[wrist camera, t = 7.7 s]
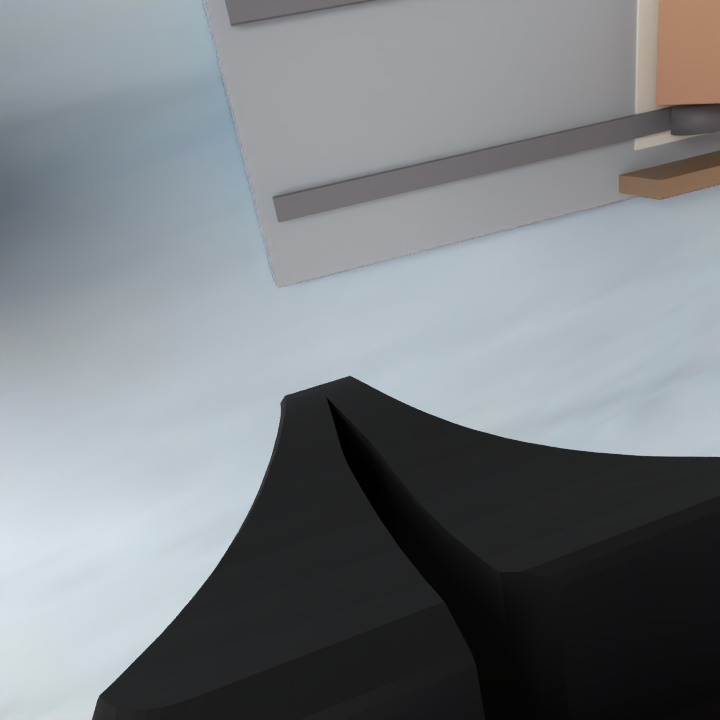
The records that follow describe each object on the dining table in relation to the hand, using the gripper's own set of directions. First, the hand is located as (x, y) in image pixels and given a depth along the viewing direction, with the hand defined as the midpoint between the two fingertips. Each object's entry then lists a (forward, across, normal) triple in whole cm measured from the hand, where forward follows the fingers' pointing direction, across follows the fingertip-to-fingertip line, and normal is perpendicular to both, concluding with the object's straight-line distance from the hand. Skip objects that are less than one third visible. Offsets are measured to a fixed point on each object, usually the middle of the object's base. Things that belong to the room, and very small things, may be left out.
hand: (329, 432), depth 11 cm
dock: (+10, -11, -5) cm, 16 cm away
